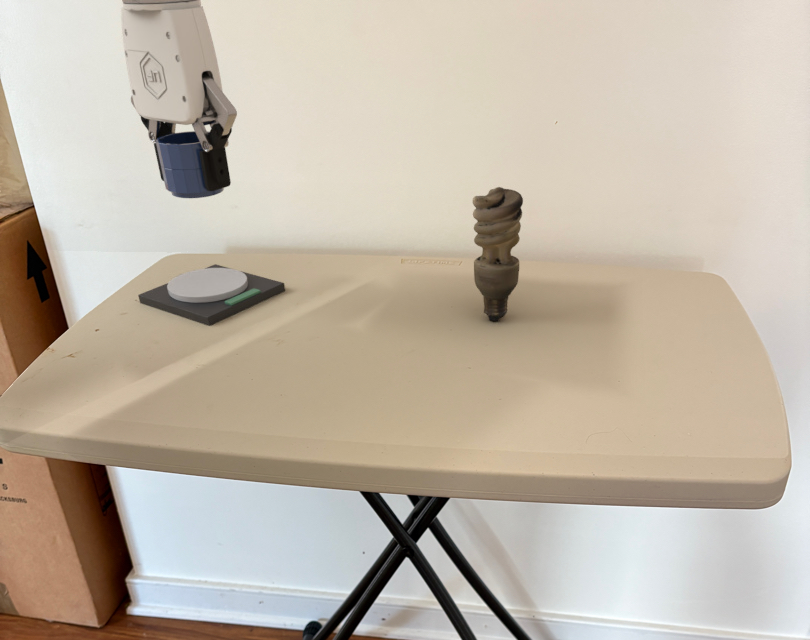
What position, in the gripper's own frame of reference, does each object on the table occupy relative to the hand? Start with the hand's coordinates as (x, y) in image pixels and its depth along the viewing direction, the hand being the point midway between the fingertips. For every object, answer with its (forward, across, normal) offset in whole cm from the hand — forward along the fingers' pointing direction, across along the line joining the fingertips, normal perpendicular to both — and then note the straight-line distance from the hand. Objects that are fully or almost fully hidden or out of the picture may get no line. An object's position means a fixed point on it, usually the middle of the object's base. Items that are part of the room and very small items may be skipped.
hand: (195, 182), depth 86 cm
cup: (+1, 0, 0) cm, 1 cm away
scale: (+16, -3, +1) cm, 16 cm away
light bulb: (+16, +29, +18) cm, 38 cm away
